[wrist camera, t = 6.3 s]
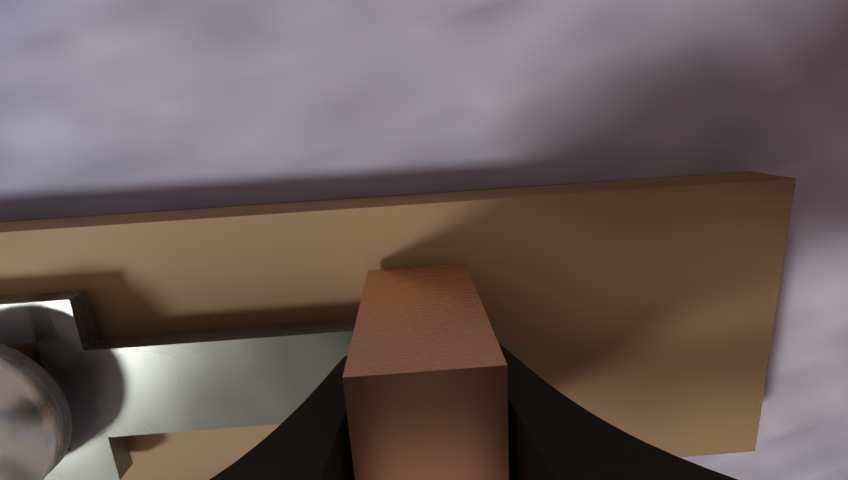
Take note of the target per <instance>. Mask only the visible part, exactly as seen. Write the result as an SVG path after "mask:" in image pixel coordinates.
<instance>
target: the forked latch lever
mask: <svg viewBox="0 0 848 480" xmlns="http://www.w3.org/2000/svg"><path fill="white" fill-rule="evenodd" d="M24 343H37V344H38V348H39V351H40V354H41V357H42V361H43V364H44V367H45V370H46V372H47V373H48V374H49V375H50V376H51V377H52V378H53V379H54V380H55V382H56V383H57V385H58V386H59V387H60V389H61V390H62V392H63V394H64V396H65V398H66V400H67V402H68V405H69V408H70V411H71V416H72V424H73V431H72V439H71V442H70V446H69V448H68V450H67V453H66V455H65V456H64V458H63V459H62V460H61V462H60V463H59V464H58V465H57V466H56V467H55V468H54V469H53V470H52V471H51V472H50V473H49V474H48V475H47V476H46V477H45V478H44V479H43V480H121V478H122V477H123V476H124V475H125V473H126V472H127V471H128V469H129V468H130V467H131V466H132V464H133V461H132V457H131V453H130V450H129V446H128V442H127V439H126V436H132V435H145V434H158V433H170V432H183V431H196V430H209V429H222V428H235V427H248V426H260V425H273V424H281V423H282V422H283V421H285V420H286V419H287V418H288V417H289V416H290V415H291V414H292V413H293V412H294V411H295V410H296V409H297V408H298V407H299V406H300V405H301V404H302V403H303V402H304V401H305V400H306V399H307V398H308V396H309V395H310V394H311V393H312V392H313V391H314V390H315V389H316V388H317V387H318V386H319V384H320V383H321V382H322V381H323V380H324V379H325V378H326V377H327V375H328V374H329V373H330V372H331V371H332V370H333V368H334V367H335V366H336V365H337V364H338V363H339V362H340V361H341V360H342V358H343V357H344V356H347V361H346V365H345V369H344V373H343V377H342V378H343V386H344V395H345V403H346V411H347V419H348V428H349V436H350V444H351V453H352V461H353V469H354V477H355V480H509V439H508V373H507V363H506V361H505V358H504V356H503V353H502V351H501V348H500V346H499V344H498V341H497V339H496V336H495V334H494V331H493V329H492V327H491V324H490V322H489V319H488V317H487V314H486V312H485V309H484V307H483V305H482V302H481V300H480V297H479V295H478V292H477V290H476V288H475V285H474V283H473V280H472V278H471V275H470V273H469V271H468V268H467V266H466V263H465V264H451V265H437V266H423V267H409V268H395V269H380V270H368V273H367V277H366V281H365V285H364V289H363V294H362V298H361V302H360V306H359V310H358V315H357V319H356V320H354V321H340V322H327V323H313V324H299V325H286V326H272V327H258V328H244V329H231V330H217V331H203V332H190V333H176V334H162V335H149V336H135V337H121V338H107V339H100V338H99V335H98V331H97V327H96V324H95V320H94V316H93V313H92V309H91V305H90V301H89V298H88V294H87V290H83V291H69V292H55V293H40V294H26V295H12V296H0V344H3V345H10V344H24Z"/></svg>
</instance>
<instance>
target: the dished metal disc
mask: <svg viewBox="0 0 848 480" xmlns="http://www.w3.org/2000/svg"><path fill="white" fill-rule="evenodd" d="M72 431H73V424H72V416H71V411H70V408H69V405H68V402H67V400H66V398H65V396H64V394H63V392H62V390H61V389H60V387H59V386H58V385H57V383H56V382H55V380H54V379H53V378H52V377H51V376H50V375H49V374H48V373H47V372H46V370H45V367H44V364H43V361H42V357H41V354H40V351H39V350H37V349H33V348H27V347H17V348H10V347H8V346H6V345H3V344H0V480H43V479H44V478H45V477H46V476H47V475H48V474H49V473H50V472H51V471H52V470H53V469H54V468H55V467H56V466H57V465H58V464H59V463H60V462H61V460H62V459H63V458H64V456H65V455H66V453H67V450H68V448H69V446H70V442H71V439H72Z"/></svg>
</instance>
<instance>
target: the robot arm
mask: <svg viewBox="0 0 848 480" xmlns="http://www.w3.org/2000/svg"><path fill="white" fill-rule="evenodd" d="M499 346H500V348H501V351H502V353H503V356H504V358H505V361H506V363H507V373H508V439H509V480H737V479H734V478H731V477H729V476H726V475H723V474H720V473H718V472H715V471H712V470H709V469H707V468H704V467H702V466H699V465H697V464H694V463H692V462H689V461H687V460H684V459H682V458H679V457H677V456H675V455H672V454H670V453H668V452H666V451H664V450H661V449H659V448H657V447H655V446H653V445H650V444H648V443H646V442H644V441H642V440H640V439H638V438H636V437H634V436H632V435H630V434H628V433H626V432H624V431H622V430H620V429H619V428H617V427H615V426H613V425H611V424H610V423H608V422H606V421H604V420H602V419H601V418H599V417H597V416H596V415H594V414H592V413H591V412H589V411H587V410H586V409H584V408H583V407H581V406H580V405H578V404H577V403H575V402H574V401H572V400H571V399H569V398H568V397H566V396H565V395H563V394H562V393H561V392H559V391H558V390H556V389H555V388H554V387H552V386H551V385H550V384H548V383H547V382H546V381H544V380H543V379H542V378H541V377H539V376H538V375H537V374H536V373H534V372H533V371H532V370H531V369H529V368H528V367H527V366H526V365H525V364H523V363H522V362H521V361H520V360H519V359H517V358H516V357H515V356H514V355H513V354H512V353H510V352H509V351H508V350H507V349H506V348H505V347H503V346H502V345H501V344H499ZM346 361H347V356H344V357H343V358H342V360H341V361H340V362H339V363H338V364H337V365H336V366H335V367H334V368H333V370H332V371H331V372H330V373H329V374H328V375H327V377H326V378H325V379H324V380H323V381H322V382H321V383H320V384H319V386H318V387H317V388H316V389H315V390H314V391H313V392H312V393H311V394H310V395H309V396H308V398H307V399H306V400H305V401H304V402H303V403H302V404H301V405H300V406H299V407H298V408H297V409H296V410H295V411H294V412H293V413H292V414H291V415H290V416H289V417H288V418H287V419H286V420H285V421H283V422H282V423H281V424H280V425H279V426H278V427H277V428H276V429H275V430H274V431H273V432H272V433H271V434H269V435H268V436H267V437H266V438H265V439H264V440H262V441H261V442H260V443H259V444H258V445H256V446H255V447H254V448H252V449H251V450H250V451H249V452H247V453H246V454H245V455H244V456H242V457H241V458H240V459H238V460H237V461H236V462H234V463H233V464H232V465H230V466H229V467H227V468H226V469H224V470H223V471H221V472H220V473H218V474H217V475H216V476H214V477H213V478H211V479H210V480H355V477H354V469H353V461H352V453H351V444H350V436H349V428H348V419H347V411H346V403H345V395H344V386H343V378H342V377H343V373H344V369H345V365H346Z"/></svg>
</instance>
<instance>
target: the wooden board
mask: <svg viewBox="0 0 848 480" xmlns="http://www.w3.org/2000/svg"><path fill="white" fill-rule="evenodd" d="M795 181H796V179H795V178H788V177H782V176H776V175H770V174H763V173H757V172H739V173H724V174H710V175H695V176H680V177H665V178H650V179H635V180H620V181H605V182H590V183H575V184H560V185H545V186H530V187H516V188H501V189H486V190H471V191H456V192H441V193H426V194H411V195H396V196H381V197H366V198H351V199H336V200H321V201H307V202H292V203H277V204H262V205H247V206H232V207H217V208H202V209H187V210H172V211H157V212H142V213H127V214H113V215H98V216H83V217H68V218H53V219H38V220H23V221H8V222H0V296H12V295H26V294H40V293H55V292H69V291H83V290H87V294H88V298H89V301H90V305H91V309H92V313H93V316H94V320H95V324H96V327H97V331H98V335H99V338H100V339H107V338H121V337H135V336H149V335H162V334H176V333H190V332H203V331H217V330H231V329H244V328H258V327H272V326H286V325H299V324H313V323H327V322H340V321H354V320H356V319H357V315H358V310H359V306H360V302H361V298H362V294H363V289H364V285H365V281H366V277H367V273H368V270H380V269H395V268H409V267H423V266H437V265H451V264H465V263H466V266H467V268H468V271H469V273H470V275H471V278H472V280H473V283H474V285H475V288H476V290H477V292H478V295H479V297H480V300H481V302H482V305H483V307H484V309H485V312H486V314H487V317H488V319H489V322H490V324H491V327H492V329H493V331H494V334H495V336H496V339H497V341H498V344H501V345H502V346H503V347H505V348H506V349H507V350H508V351H509V352H510V353H512V354H513V355H514V356H515V357H516V358H517V359H519V360H520V361H521V362H522V363H523V364H525V365H526V366H527V367H528V368H529V369H531V370H532V371H533V372H534V373H536V374H537V375H538V376H539V377H541V378H542V379H543V380H544V381H546V382H547V383H548V384H550V385H551V386H552V387H554V388H555V389H556V390H558V391H559V392H561V393H562V394H563V395H565V396H566V397H568V398H569V399H571V400H572V401H574V402H575V403H577V404H578V405H580V406H581V407H583V408H584V409H586V410H587V411H589V412H591V413H592V414H594V415H596V416H597V417H599V418H601V419H602V420H604V421H606V422H608V423H610V424H611V425H613V426H615V427H617V428H619V429H620V430H622V431H624V432H626V433H628V434H630V435H632V436H634V437H636V438H638V439H640V440H642V441H644V442H646V443H648V444H650V445H653V446H655V447H657V448H659V449H661V450H664V451H666V452H668V453H670V454H672V455H675V456H677V457H687V456H699V455H711V454H724V453H736V452H748V451H755V447H756V441H757V434H758V427H759V421H760V414H761V407H762V401H763V394H764V387H765V381H766V374H767V367H768V361H769V354H770V347H771V341H772V334H773V327H774V321H775V314H776V307H777V301H778V294H779V287H780V281H781V274H782V267H783V261H784V254H785V247H786V241H787V234H788V227H789V221H790V214H791V207H792V201H793V194H794V187H795ZM6 346H8V347H10V348H17V347H27V348H33V349H37V350H39V348H38V344H37V343H24V344H10V345H6ZM279 425H280V424H273V425H260V426H248V427H235V428H222V429H209V430H196V431H183V432H170V433H158V434H145V435H132V436H126V439H127V442H128V446H129V450H130V453H131V457H132V461H133V464H132V466H131V467H130V468H129V469H128V471H127V472H126V473H125V475H124V476H123V477H122V478H121V480H210V479H211V478H213V477H214V476H216V475H217V474H218V473H220V472H221V471H223V470H224V469H226V468H227V467H229V466H230V465H232V464H233V463H234V462H236V461H237V460H238V459H240V458H241V457H242V456H244V455H245V454H246V453H247V452H249V451H250V450H251V449H252V448H254V447H255V446H256V445H258V444H259V443H260V442H261V441H262V440H264V439H265V438H266V437H267V436H268V435H269V434H271V433H272V432H273V431H274V430H275V429H276V428H277V427H278V426H279Z"/></svg>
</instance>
